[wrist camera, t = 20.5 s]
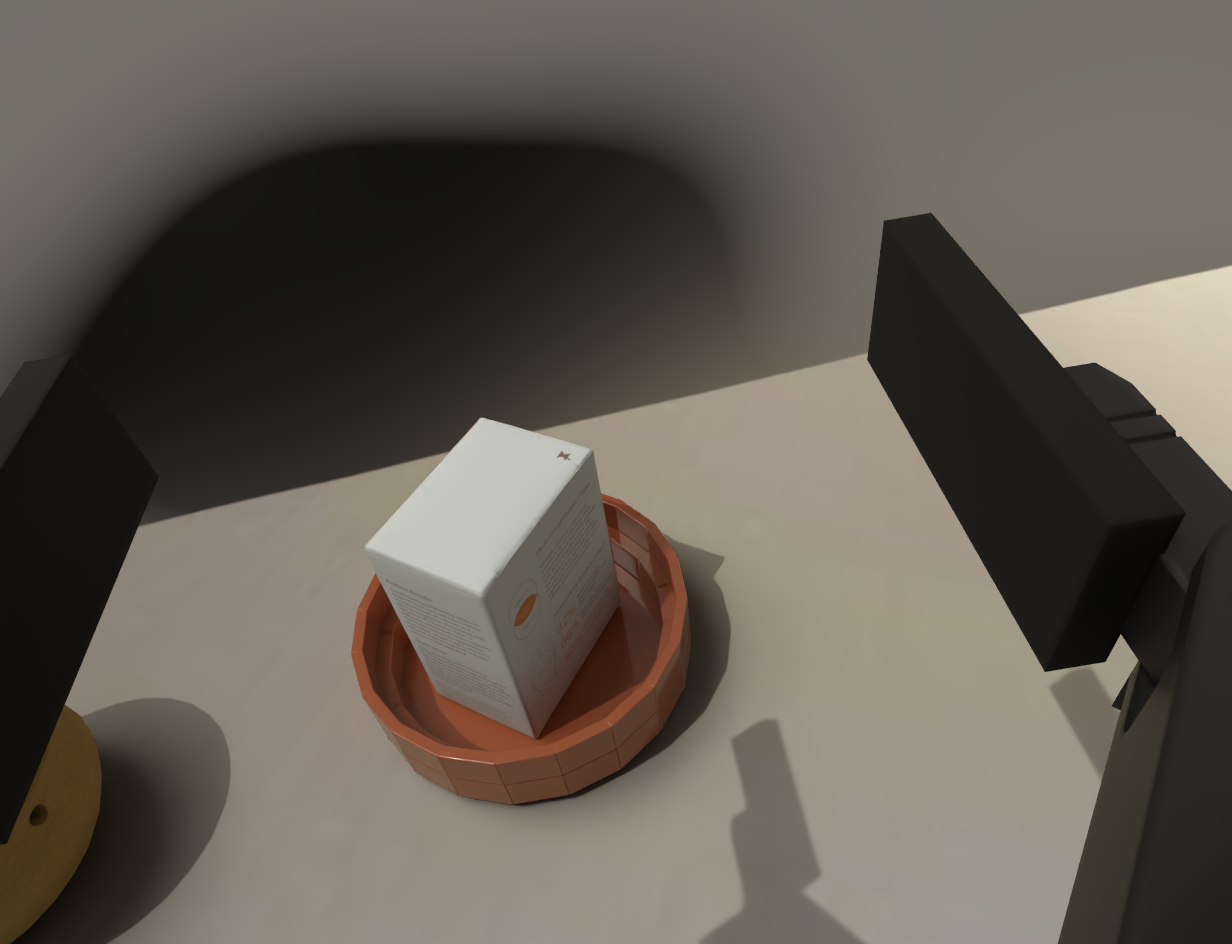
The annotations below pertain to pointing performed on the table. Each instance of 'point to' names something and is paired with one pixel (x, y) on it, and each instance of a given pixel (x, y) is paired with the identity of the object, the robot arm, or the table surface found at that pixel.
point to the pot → (50, 827)
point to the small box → (502, 571)
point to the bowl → (587, 713)
